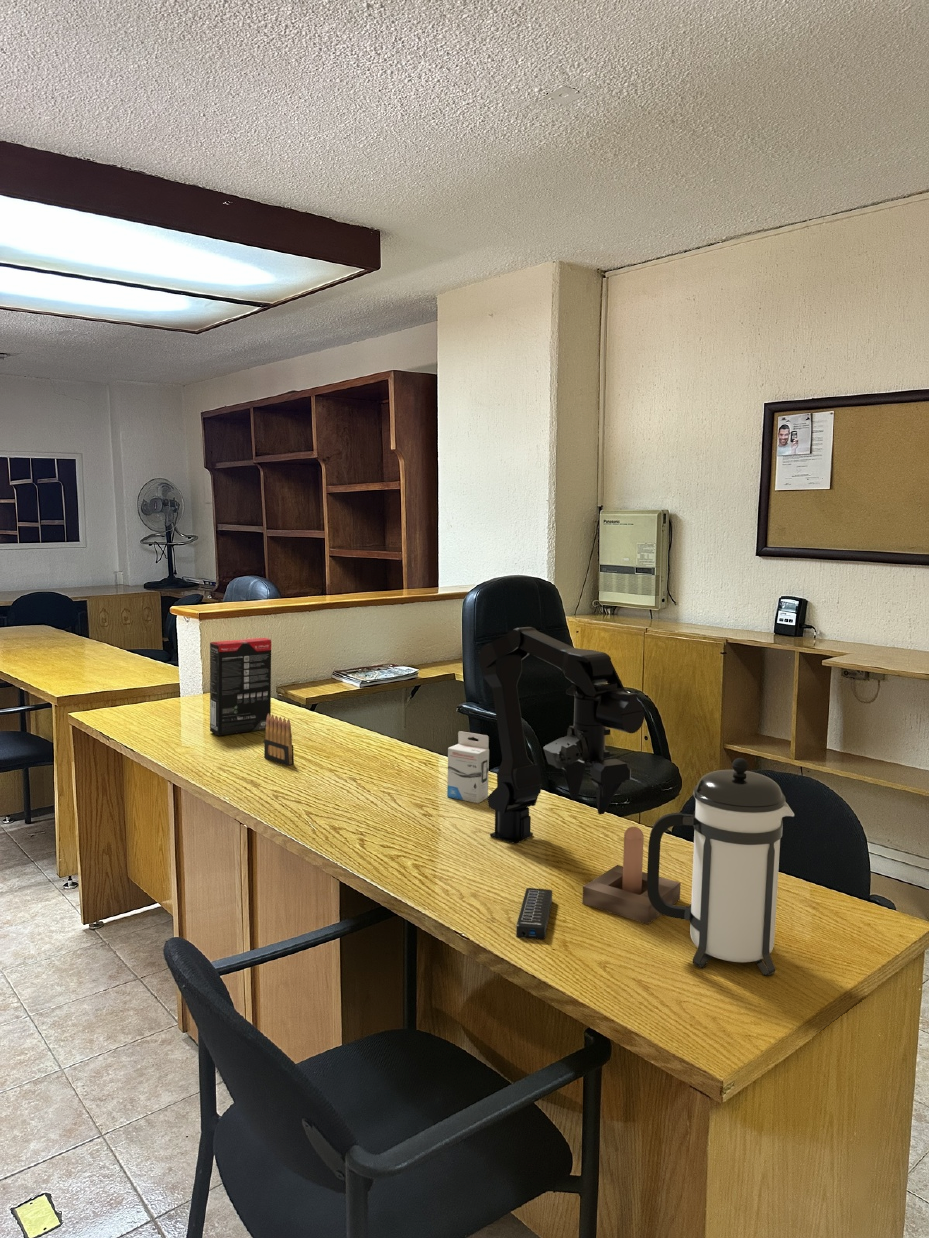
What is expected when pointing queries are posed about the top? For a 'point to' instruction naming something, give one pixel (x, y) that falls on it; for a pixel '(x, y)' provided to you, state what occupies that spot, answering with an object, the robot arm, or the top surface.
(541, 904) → the multiport hub
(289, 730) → the ammunition clip
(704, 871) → the coffee press
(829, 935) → the top surface
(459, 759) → the ink box
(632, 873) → the terracotta dowel
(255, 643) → the graphics card box
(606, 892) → the brown square frame
